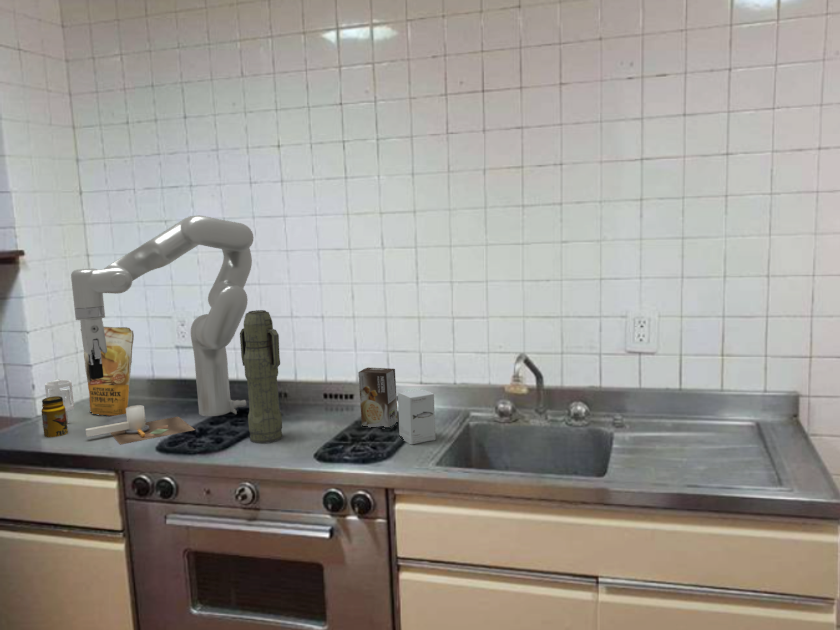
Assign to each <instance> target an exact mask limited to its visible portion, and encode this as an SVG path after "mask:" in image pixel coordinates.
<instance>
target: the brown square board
mask: <svg viewBox="0 0 840 630" xmlns="http://www.w3.org/2000/svg"><path fill="white" fill-rule="evenodd" d="M146 425H148V426H149V430H147V431H145V432H144V433H145V436H143V437H142V436H141V435H140V434H139V433H134V434H128V433H125V430H122V431H116V432H111V433H110V435H111V436H112V437H113V438H114V439H115V441H116V442H117V443H118V445H124V444H131V443H137V442H140V441H141V442H142V441H146V440H152V439H156V438H161V437H166V436H172V435H177V434H182V433H186V432H193V431H195V430H196V428H194V427H193V426H191V425H190V424H189V423H187V422H186V421H184V420H183V419H182V418H181V417H179V416H173V417H170V418H162V419H157V420H152V421H148V422H147V421H146Z"/></svg>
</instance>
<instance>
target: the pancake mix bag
mask: <svg viewBox="0 0 840 630" xmlns="http://www.w3.org/2000/svg"><path fill="white" fill-rule="evenodd" d="M104 332H105V339H106V346H107V352H106V353H103V352H102V351H101V360H102V366H103V376H104V377H103V378H99V379H91V378H90V374H89V365H88V364H89V361H88V354H87V353H86V352H85V351H84V350H83V358H84V367H85V369H84V370H85V373H86V374H85V375H86V380H87V388H88V393H89V395H88V397H89V412H90V411H91V412H92V413H93V414H99V415H98V416H100V415H107V416H106V417H115V416H116V417H117V416H121V415H122V416H123V415H126V408H127V407H129V396H130V382H131V370H132V369H131V368H132V362H133V361H132V359H133V358H132V357H133V345H134V340H135V339H134V334H135V333H134V330H132V329H131V328H130V327H127V326H125V327H124V326H123V327H121V326H119V327H118V326H117V327H113V326H104ZM92 413H91V414H92Z"/></svg>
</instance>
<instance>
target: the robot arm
mask: <svg viewBox="0 0 840 630" xmlns="http://www.w3.org/2000/svg"><path fill="white" fill-rule="evenodd" d="M253 242H254V233H253V230H252V229H251V228H250V227H249V226H248V225H246V224H244V223H241V222H237V221H232V220H231V221H230V220H225V219H219V218H216V217H211V216H206V215H197V214H196V215H190V216H187V217H185V218H184V219H181V220H180V221H178V222H177V223H175V224H173V225H172V226H170V227H169V228H167V229H166V230H164V231H162V232H161V233H159V234H157V235H155V237H152V238H151V239H149V240H147V241H145V242H144V243H143V244H142V245H140V246H138V247H136V248H135V249H133V250H132V251H129V252H128V253H126V254H125V255H123V256H122V257H120V258H118V259H116V260H114V261H113V262H111V263H110V264H108V265H107V266H106V267H104V268H102V269H97V268H80V269H75V270H73V271H72V272H71V273H70V279H71V287H72V296H73V307H74V316H75V320H76V321H79V323H80V332H81V340H82V348H83V352H84V351H85V352H86V353H87V354H88V361H89V364H88V365H89V374H90V378H91V379H99V378H103V377H104V376H103V366H102V360H101V351H102V352H103V353H106V352H107V346H106V339H105V332H104V327H105V326H104V321H103V319H105V318H106V312H105V311H106V310H105V303H104V302H105V301H104V294H118V295H119V294H123V293H125V292H127V291H128V290H129V289H130V288H131V287H132V285H133V282H134V281H135V280H136V279H138V278H140V277H141V276H143V275H145V274H148V273H149V272H151V271H154V270H157V269H161V268H164V267H165V266H169V265H170V264H171V263H173V262H175V261H176V260H177V259H179V258H180V257H182V256H183V255H185V254H187V253H188V252H190V251H192V250H194V248H196V247H198V246H199V245H200V246H204V247H208V248H209V247H210V248H214V249H221V251H222V254H223V260H222V264H221V266H220V270H219V271H218V274H217V276H216V278H215V281H214V282H213V285H212V287H211V288H210V291H209V293H208V296H207V303H208V304H209V306H210V310H209V311H208V314H201V315H199V316H198V317H196V318H195V319H194V321H193V322H192V324H191V327H190V341H191V345H192V349H193V357H194V371H195V378H196V379H195V381H196V383H195V384H196V392H197V393H196V394H197V405H198V415H199V416H202V417H218V416H223V415H227V414H229V413H232V414H234V415H237V414H238V413H237V410H236V409H237V408H239V407H240V408H241V407H246V406H247V401H246V399H242V400H240V399H237V400H232V398H231V393H230V392H231V391H230V379H229V367H228V366H229V365H228V355H227V349H226V347H227V346H228V345H229V344H230V343H231V342H232V340H233V338H234V336H235V334H236V333H237V330H238V328H239V326H240V323H241V321H242V319H243V317H244V315H245V312H246V310H247V306H248V299H249V298H248V295H247V292H246V290H245V289H244V288H245V286H246V283H247V281H248V278H249V276H250V272H251V271H252V266H253V258H252V253H251V249H250V248H251V246H252V245H253Z"/></svg>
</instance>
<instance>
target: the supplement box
mask: <svg viewBox="0 0 840 630" xmlns="http://www.w3.org/2000/svg"><path fill="white" fill-rule="evenodd" d="M397 414H398V432H399V433H398V435H400V436H402V437H403V439H404V440H403V441H404V442H405V443H407V444H408V445H409V444H410V445H411V446H412V445H414V444H420V443H426V442H430V441H435V440H436V417H435V416H436V415H435V393H433V392H431V391H428V390H425V389H423V388H421V389H419V388H418V389H414V390H413V389H412V390H407V391H400V392H397Z"/></svg>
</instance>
